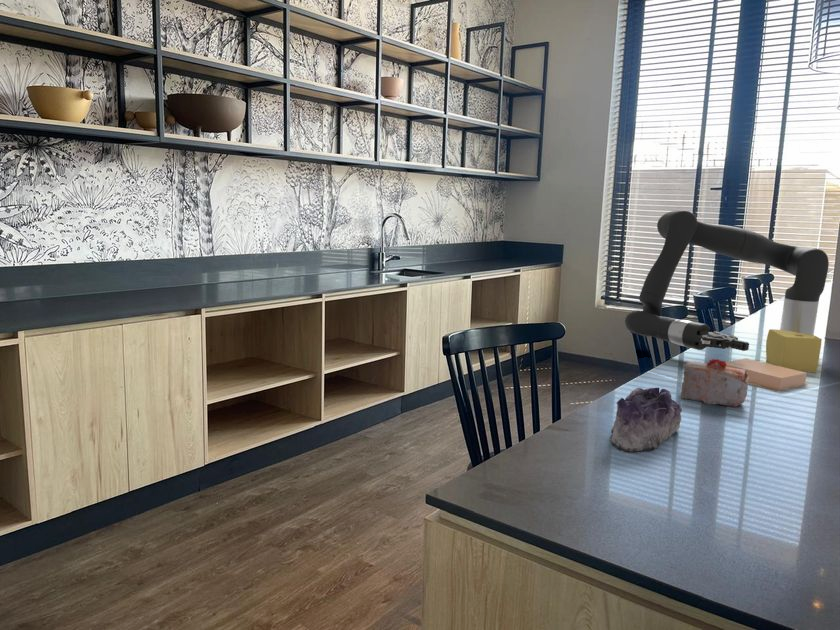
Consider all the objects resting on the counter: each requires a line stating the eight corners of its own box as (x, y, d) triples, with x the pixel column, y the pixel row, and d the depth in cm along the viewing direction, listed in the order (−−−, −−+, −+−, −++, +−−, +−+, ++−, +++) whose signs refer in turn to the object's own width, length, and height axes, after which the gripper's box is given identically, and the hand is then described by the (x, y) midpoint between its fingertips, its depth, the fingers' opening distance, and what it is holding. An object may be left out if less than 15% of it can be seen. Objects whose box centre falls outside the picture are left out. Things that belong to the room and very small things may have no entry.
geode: (665, 463, 110) (662, 407, 108) (598, 455, 116) (595, 401, 115) (690, 427, 126) (688, 377, 125) (630, 421, 133) (628, 374, 131)
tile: (746, 358, 175) (806, 372, 162) (744, 369, 176) (805, 384, 163) (720, 362, 169) (781, 378, 156) (719, 373, 169) (779, 390, 156)
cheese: (800, 364, 187) (805, 330, 185) (818, 374, 177) (824, 338, 175) (763, 362, 188) (767, 328, 186) (779, 371, 177) (784, 336, 176)
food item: (745, 402, 147) (750, 360, 145) (745, 411, 140) (751, 368, 138) (681, 392, 153) (686, 352, 151) (678, 400, 146) (683, 358, 144)
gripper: (676, 322, 179) (734, 334, 164) (704, 319, 186) (763, 331, 171) (673, 348, 180) (730, 363, 166) (701, 344, 187) (759, 358, 173)
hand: (747, 346), depth 169 cm, fingers closed
